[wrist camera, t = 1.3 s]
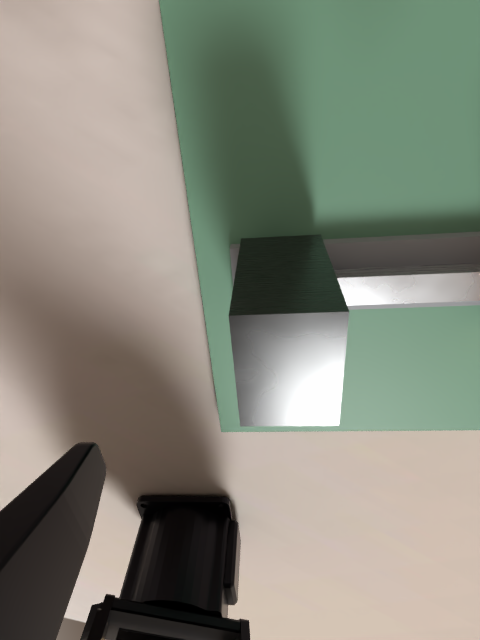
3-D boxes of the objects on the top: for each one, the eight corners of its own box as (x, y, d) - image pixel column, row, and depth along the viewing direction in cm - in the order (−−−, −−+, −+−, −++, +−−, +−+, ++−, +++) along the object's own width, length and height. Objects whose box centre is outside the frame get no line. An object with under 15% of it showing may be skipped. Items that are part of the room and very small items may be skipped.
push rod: (248, 336, 17) (241, 437, 12) (240, 225, 14) (226, 298, 9) (530, 327, 16) (647, 435, 11) (576, 207, 13) (758, 278, 8)
